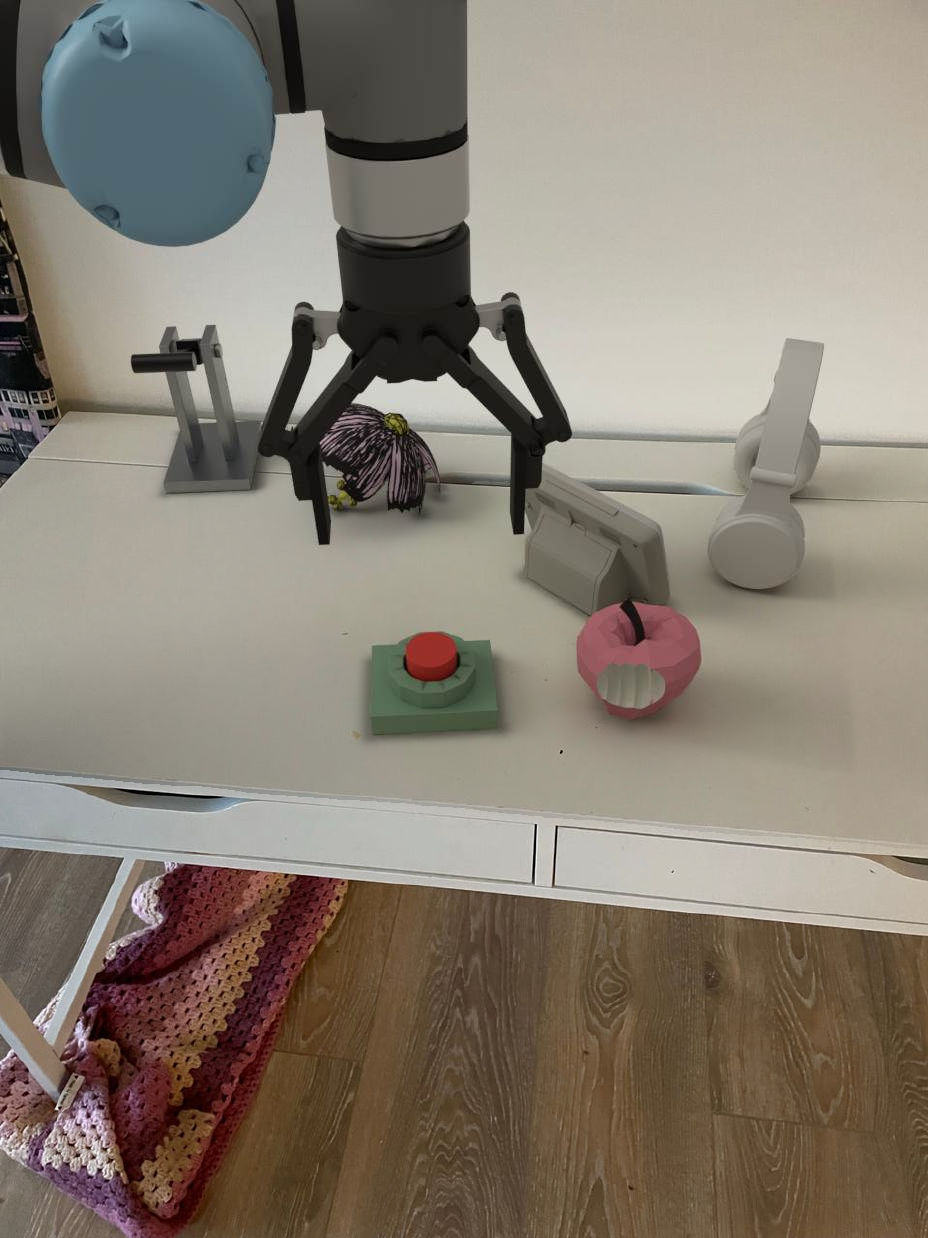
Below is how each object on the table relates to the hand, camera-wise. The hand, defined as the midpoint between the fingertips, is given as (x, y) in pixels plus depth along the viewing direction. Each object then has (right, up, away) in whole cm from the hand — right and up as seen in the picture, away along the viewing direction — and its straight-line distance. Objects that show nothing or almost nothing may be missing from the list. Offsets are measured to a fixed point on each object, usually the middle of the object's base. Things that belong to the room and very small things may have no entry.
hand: (421, 528), depth 66 cm
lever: (-24, +18, +24) cm, 39 cm away
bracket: (-24, +11, +38) cm, 46 cm away
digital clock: (+15, -3, +22) cm, 27 cm away
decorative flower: (-6, +6, +32) cm, 33 cm away
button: (0, -10, +9) cm, 13 cm away
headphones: (+32, +2, +27) cm, 42 cm away
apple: (+17, -13, +10) cm, 24 cm away
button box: (+1, -13, +11) cm, 17 cm away
